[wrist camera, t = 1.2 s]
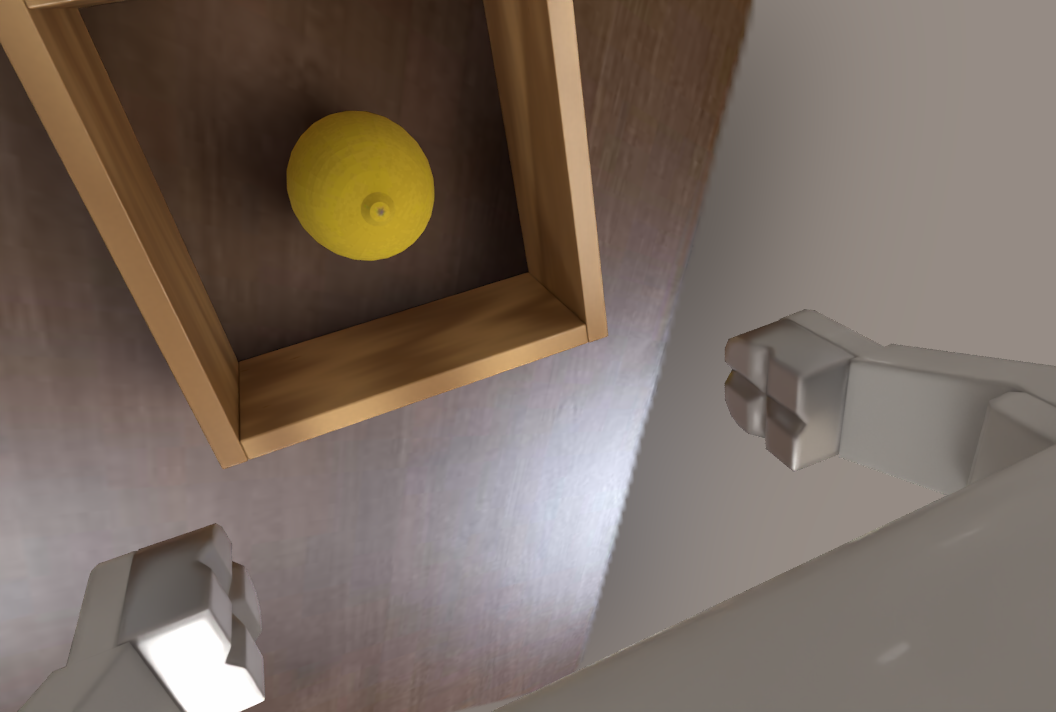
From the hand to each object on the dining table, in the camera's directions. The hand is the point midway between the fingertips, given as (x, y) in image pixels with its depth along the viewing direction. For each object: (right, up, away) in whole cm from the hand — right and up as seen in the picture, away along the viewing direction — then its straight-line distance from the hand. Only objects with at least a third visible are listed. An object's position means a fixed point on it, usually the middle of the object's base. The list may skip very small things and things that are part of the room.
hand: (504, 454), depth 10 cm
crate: (-8, +10, +19) cm, 23 cm away
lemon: (-8, +10, +19) cm, 23 cm away
